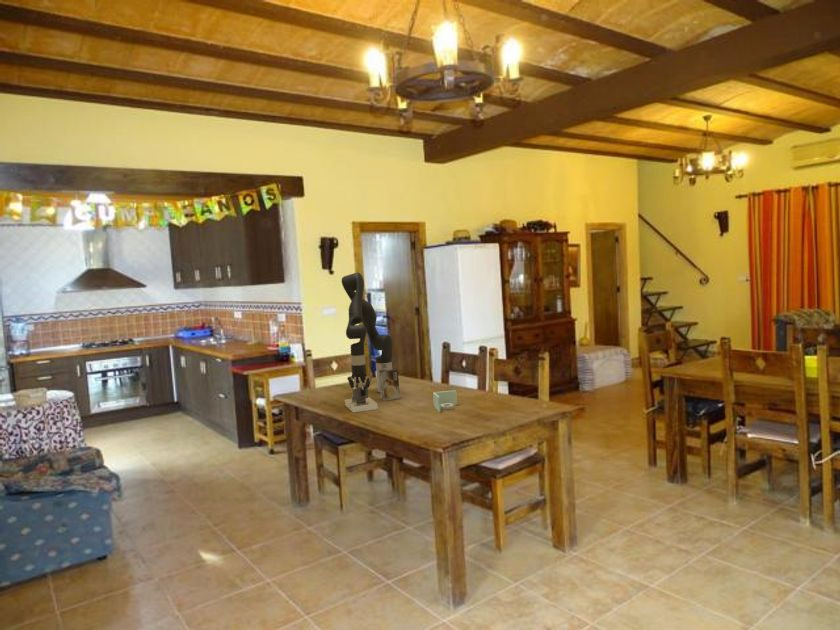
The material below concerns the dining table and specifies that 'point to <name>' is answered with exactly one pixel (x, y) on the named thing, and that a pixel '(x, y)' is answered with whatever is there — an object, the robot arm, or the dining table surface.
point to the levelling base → (360, 405)
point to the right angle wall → (445, 400)
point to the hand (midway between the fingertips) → (360, 396)
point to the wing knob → (359, 395)
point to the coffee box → (389, 384)
